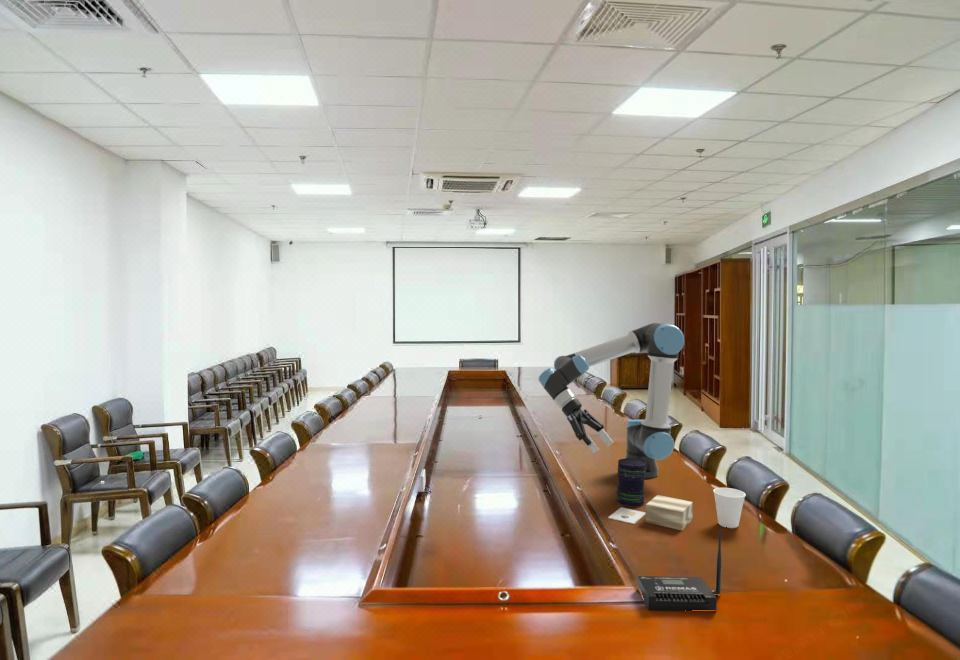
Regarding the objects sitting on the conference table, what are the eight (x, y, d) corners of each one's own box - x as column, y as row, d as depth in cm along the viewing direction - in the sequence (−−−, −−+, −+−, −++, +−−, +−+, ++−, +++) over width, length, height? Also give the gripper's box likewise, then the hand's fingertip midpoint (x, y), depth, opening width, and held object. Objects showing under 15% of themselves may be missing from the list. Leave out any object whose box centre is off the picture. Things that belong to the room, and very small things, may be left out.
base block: (656, 511, 205) (657, 494, 205) (692, 519, 198) (693, 501, 198) (645, 522, 195) (645, 504, 195) (682, 530, 188) (682, 512, 188)
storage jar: (614, 497, 220) (615, 458, 219) (640, 498, 220) (641, 458, 219) (619, 506, 210) (620, 465, 209) (647, 507, 210) (648, 466, 209)
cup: (748, 532, 188) (749, 498, 187) (715, 529, 190) (716, 495, 189) (740, 520, 198) (741, 488, 197) (709, 518, 200) (710, 486, 199)
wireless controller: (650, 616, 137) (652, 544, 136) (635, 587, 151) (637, 522, 150) (736, 618, 137) (738, 546, 136) (713, 589, 151) (715, 523, 150)
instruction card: (621, 508, 208) (621, 507, 208) (646, 513, 203) (646, 512, 203) (608, 518, 199) (608, 517, 199) (633, 524, 193) (633, 522, 193)
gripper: (576, 405, 240) (609, 447, 232) (547, 414, 219) (583, 460, 211) (588, 393, 236) (623, 435, 228) (560, 401, 216) (597, 448, 208)
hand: (603, 447), depth 220 cm, fingers open, 13 cm apart
